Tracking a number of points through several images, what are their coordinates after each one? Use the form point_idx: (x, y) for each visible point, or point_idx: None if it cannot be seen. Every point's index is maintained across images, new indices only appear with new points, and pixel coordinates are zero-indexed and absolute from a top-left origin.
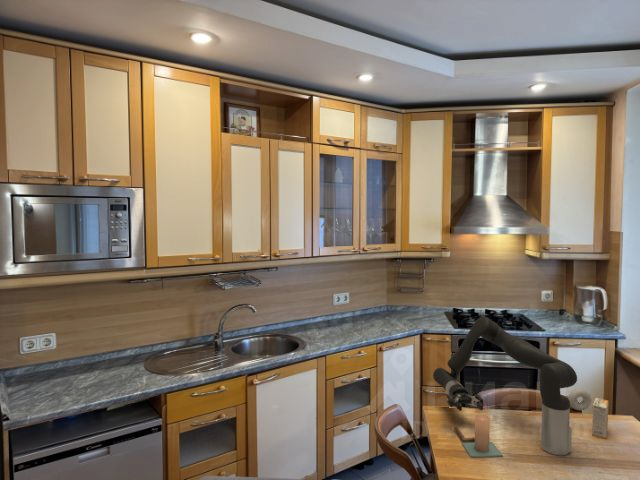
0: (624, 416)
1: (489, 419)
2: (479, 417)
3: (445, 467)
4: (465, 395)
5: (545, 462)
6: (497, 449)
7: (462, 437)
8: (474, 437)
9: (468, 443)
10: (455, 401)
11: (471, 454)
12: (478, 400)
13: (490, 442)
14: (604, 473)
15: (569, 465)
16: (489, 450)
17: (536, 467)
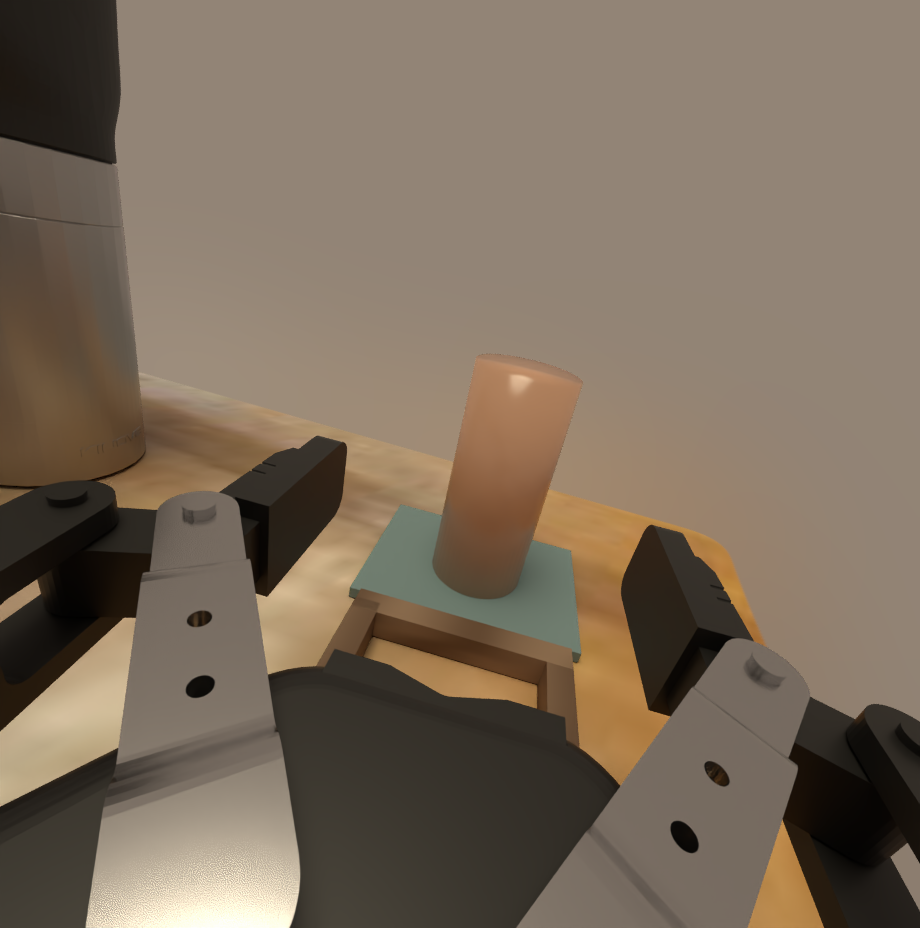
0: None
1: (487, 354)
2: (548, 375)
3: (709, 557)
4: (288, 852)
5: (253, 442)
6: (388, 534)
7: (567, 672)
8: (465, 637)
9: (534, 632)
10: (776, 660)
11: (563, 556)
12: (207, 499)
13: (366, 587)
14: (139, 374)
15: (187, 412)
16: None
17: None
